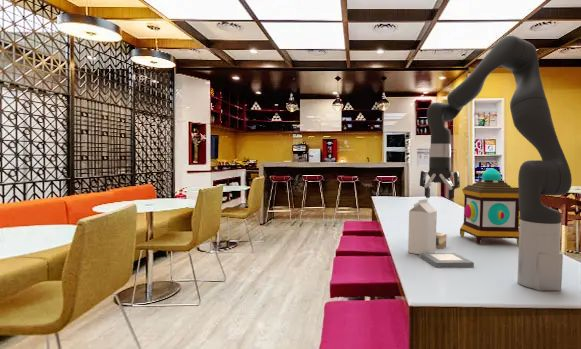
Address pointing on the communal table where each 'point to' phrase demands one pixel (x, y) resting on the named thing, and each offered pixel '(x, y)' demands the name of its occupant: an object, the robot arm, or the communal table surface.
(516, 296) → the communal table surface
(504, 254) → the communal table surface
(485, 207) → the decorative lantern
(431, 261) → the slate board
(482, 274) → the communal table surface
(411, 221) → the milk carton
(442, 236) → the marked cube
